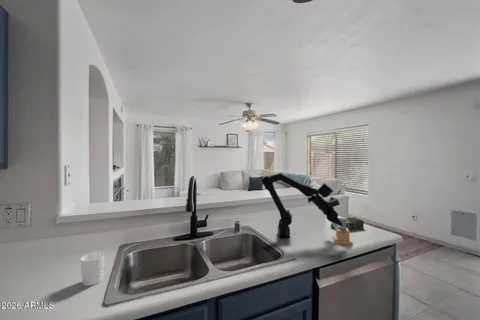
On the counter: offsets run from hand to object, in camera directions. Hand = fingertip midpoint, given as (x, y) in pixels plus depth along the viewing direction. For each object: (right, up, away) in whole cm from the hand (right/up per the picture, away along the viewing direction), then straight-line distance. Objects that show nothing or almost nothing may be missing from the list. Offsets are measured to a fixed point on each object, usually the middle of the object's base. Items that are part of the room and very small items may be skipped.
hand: (340, 222), depth 128 cm
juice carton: (+14, -10, +22) cm, 29 cm away
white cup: (-116, -12, -41) cm, 124 cm away
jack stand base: (+1, -11, 0) cm, 11 cm away
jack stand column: (+1, -9, 0) cm, 9 cm away
